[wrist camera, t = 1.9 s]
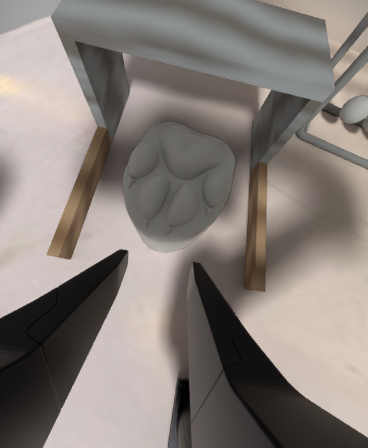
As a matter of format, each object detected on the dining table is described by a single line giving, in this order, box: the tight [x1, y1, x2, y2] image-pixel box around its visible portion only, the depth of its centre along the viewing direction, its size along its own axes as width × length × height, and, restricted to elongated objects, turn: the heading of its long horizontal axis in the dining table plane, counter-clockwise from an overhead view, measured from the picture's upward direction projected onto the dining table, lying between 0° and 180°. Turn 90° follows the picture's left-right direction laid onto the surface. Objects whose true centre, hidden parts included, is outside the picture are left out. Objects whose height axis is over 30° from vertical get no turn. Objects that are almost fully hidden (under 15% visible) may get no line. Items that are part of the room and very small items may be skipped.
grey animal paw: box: [123, 121, 235, 253], centre depth 20 cm, size 10×13×9 cm
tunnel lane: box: [47, 0, 335, 292], centre depth 19 cm, size 27×23×13 cm
